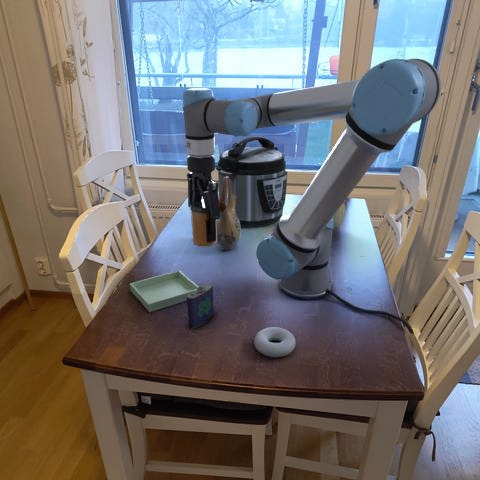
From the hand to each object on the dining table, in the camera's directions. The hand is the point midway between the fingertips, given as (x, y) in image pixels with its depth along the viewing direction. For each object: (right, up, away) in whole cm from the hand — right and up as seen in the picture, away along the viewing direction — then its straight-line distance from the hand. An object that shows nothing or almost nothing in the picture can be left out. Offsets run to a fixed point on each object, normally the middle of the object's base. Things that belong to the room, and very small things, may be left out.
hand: (204, 236), depth 124 cm
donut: (+19, -31, -22) cm, 42 cm away
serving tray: (-12, -17, 0) cm, 20 cm away
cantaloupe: (+44, +11, +43) cm, 62 cm away
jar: (0, -1, +1) cm, 2 cm away
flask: (0, -25, -12) cm, 27 cm away
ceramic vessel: (+6, +2, +28) cm, 29 cm away
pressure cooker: (+15, +19, +54) cm, 60 cm away
